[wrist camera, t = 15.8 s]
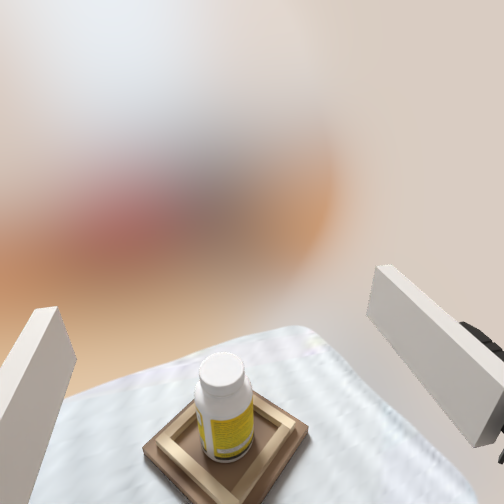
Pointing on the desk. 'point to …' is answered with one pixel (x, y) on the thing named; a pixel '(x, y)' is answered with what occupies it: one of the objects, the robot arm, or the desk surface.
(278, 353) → the desk surface
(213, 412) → the supplement bottle
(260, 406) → the walnut board
